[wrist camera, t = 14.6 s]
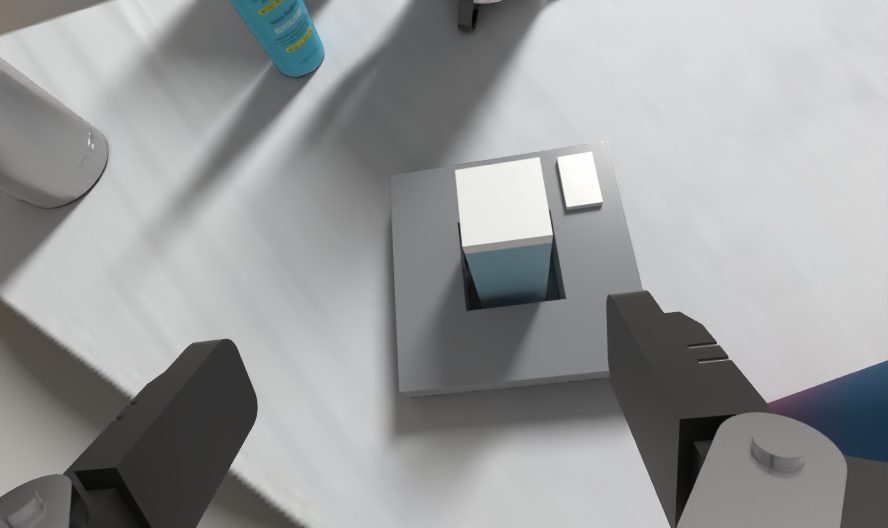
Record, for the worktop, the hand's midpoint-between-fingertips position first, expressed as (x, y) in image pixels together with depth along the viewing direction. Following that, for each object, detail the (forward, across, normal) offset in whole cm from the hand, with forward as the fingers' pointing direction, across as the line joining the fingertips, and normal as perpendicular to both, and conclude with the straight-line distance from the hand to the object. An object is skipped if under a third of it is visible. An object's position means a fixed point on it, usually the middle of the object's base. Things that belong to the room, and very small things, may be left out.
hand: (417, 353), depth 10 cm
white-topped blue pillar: (+24, -3, +10) cm, 26 cm away
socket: (+24, -3, +10) cm, 26 cm away
